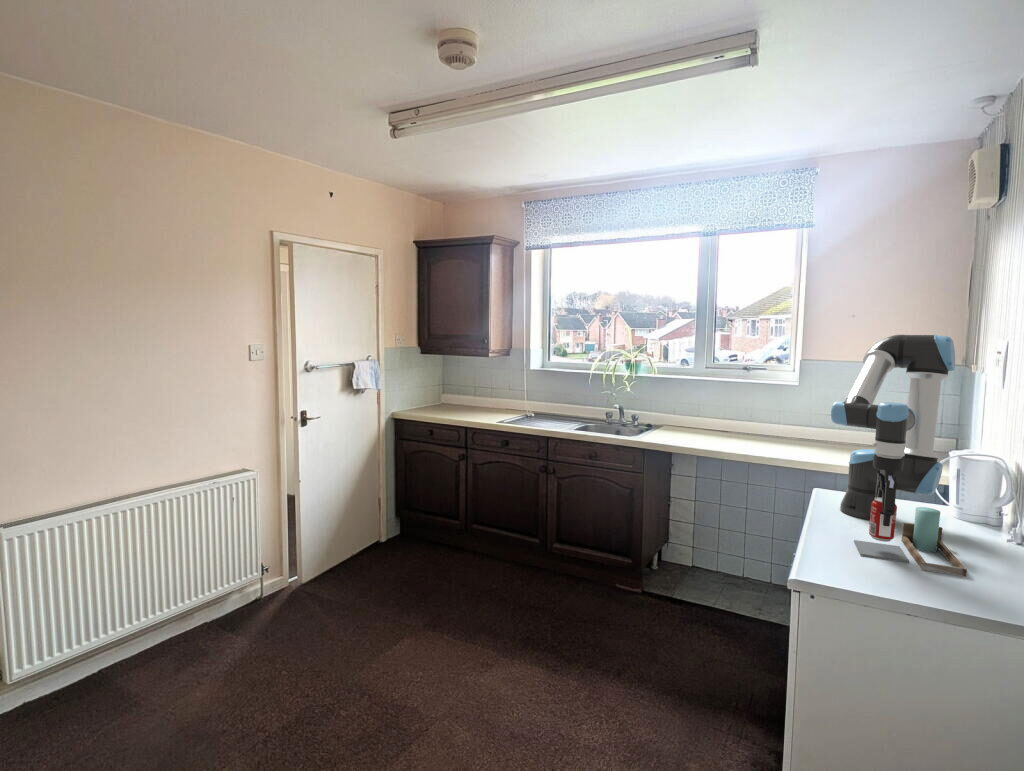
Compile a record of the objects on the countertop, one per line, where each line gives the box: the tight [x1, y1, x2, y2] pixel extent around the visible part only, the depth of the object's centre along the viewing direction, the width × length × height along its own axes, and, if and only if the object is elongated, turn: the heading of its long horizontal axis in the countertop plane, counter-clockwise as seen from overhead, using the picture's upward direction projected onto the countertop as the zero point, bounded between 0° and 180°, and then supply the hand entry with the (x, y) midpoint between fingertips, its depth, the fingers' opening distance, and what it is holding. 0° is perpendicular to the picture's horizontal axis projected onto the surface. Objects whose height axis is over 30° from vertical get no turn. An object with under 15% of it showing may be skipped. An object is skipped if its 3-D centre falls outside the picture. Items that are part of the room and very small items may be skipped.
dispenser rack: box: [901, 522, 968, 577], centre depth 167 cm, size 24×10×6 cm, turn 157°
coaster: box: [853, 539, 910, 564], centre depth 171 cm, size 12×12×1 cm
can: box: [912, 506, 941, 553], centre depth 174 cm, size 6×6×12 cm
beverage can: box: [868, 497, 898, 543], centre depth 170 cm, size 6×6×12 cm
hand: (881, 531), depth 171 cm, fingers closed on beverage can, 6 cm apart
